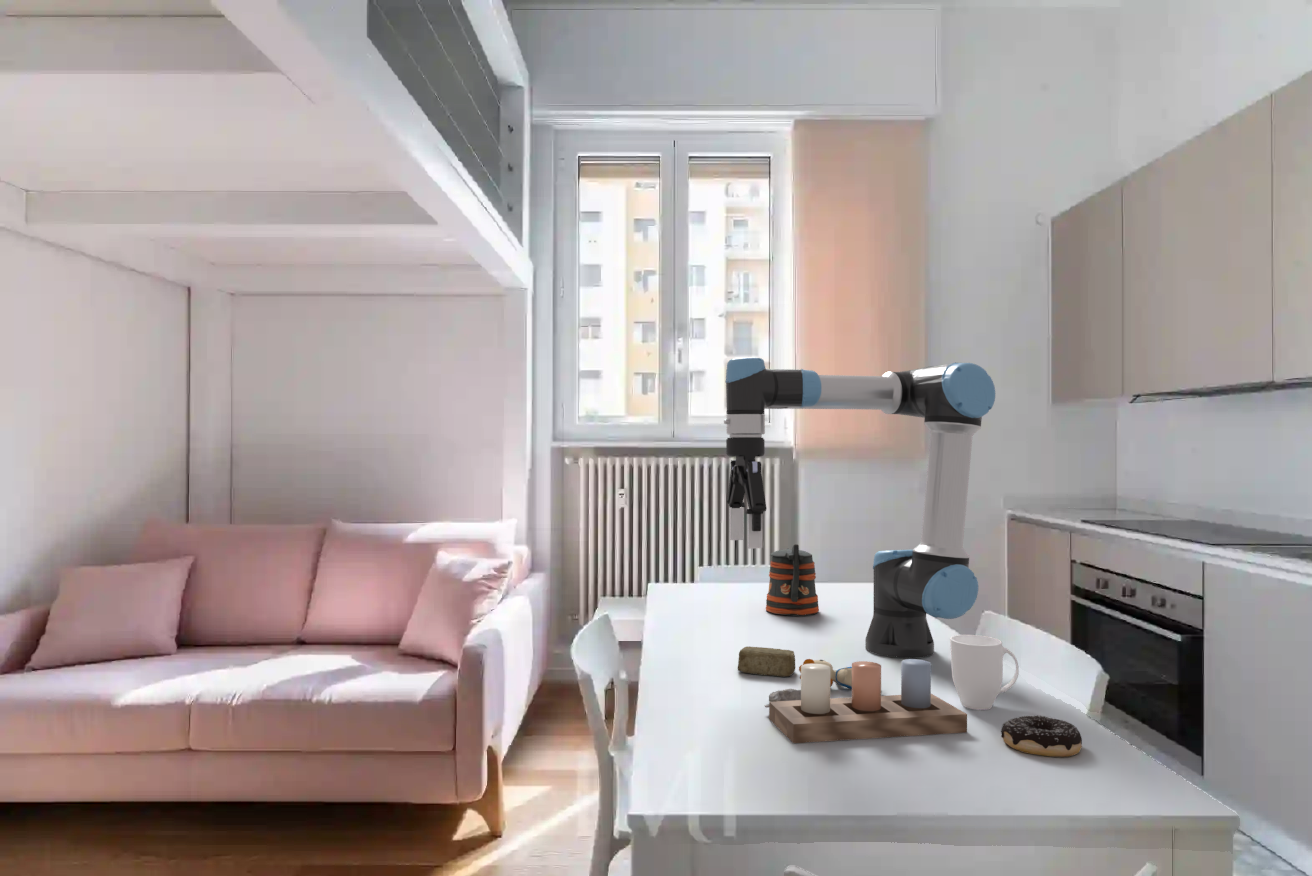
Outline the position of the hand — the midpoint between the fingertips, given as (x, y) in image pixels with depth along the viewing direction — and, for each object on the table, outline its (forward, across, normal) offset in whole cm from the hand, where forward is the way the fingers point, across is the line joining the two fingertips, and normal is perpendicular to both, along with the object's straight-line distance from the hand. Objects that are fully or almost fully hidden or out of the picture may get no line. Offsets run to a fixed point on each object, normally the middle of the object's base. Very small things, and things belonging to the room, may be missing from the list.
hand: (745, 544), depth 173 cm
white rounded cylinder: (+24, +29, +4) cm, 38 cm away
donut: (+28, +42, +36) cm, 62 cm away
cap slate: (+24, +28, +22) cm, 43 cm away
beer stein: (+28, -65, +31) cm, 77 cm away
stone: (+28, +16, +3) cm, 32 cm away
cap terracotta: (+24, +28, +13) cm, 40 cm away
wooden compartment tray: (+27, +28, +13) cm, 42 cm away
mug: (+28, +21, +39) cm, 52 cm away
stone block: (+28, -6, +6) cm, 29 cm away
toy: (+28, +7, +17) cm, 33 cm away
